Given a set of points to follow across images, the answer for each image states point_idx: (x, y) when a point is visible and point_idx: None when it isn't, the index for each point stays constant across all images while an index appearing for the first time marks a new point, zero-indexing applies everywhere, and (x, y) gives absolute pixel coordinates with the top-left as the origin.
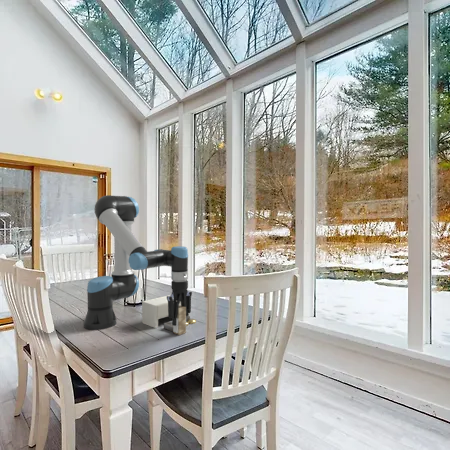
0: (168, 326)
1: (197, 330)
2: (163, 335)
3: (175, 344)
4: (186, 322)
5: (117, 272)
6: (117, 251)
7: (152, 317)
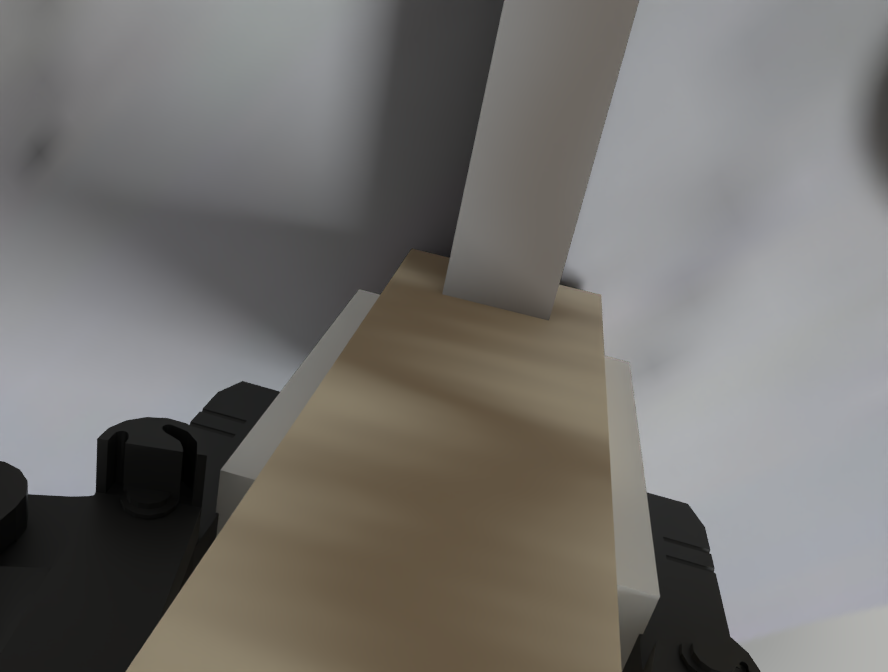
0: (500, 18)
1: (799, 562)
2: (228, 108)
3: None
4: None
5: None
6: None
7: None
